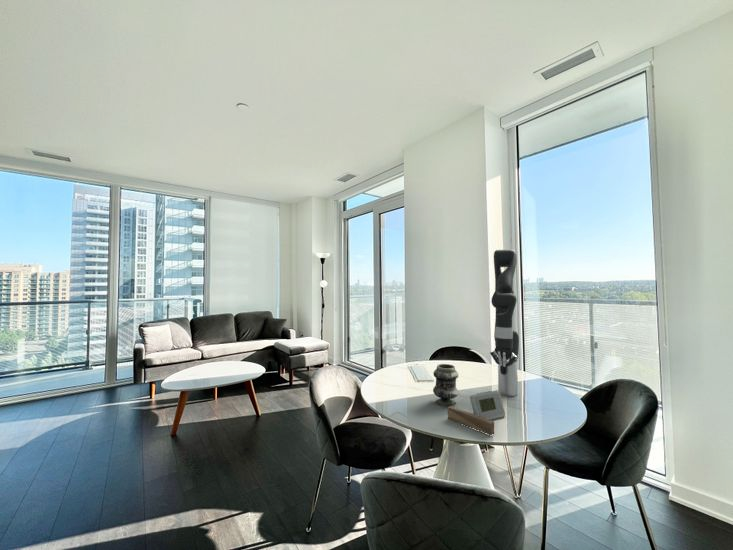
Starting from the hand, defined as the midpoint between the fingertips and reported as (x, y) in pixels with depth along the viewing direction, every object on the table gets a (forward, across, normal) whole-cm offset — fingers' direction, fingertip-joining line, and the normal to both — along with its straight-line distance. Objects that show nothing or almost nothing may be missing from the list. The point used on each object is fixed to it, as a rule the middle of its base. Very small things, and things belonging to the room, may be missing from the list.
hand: (503, 374), depth 151 cm
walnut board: (+16, 0, +27) cm, 32 cm away
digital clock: (+17, 0, +14) cm, 22 cm away
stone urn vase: (+17, +22, +14) cm, 31 cm away
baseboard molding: (+17, +63, -11) cm, 66 cm away
